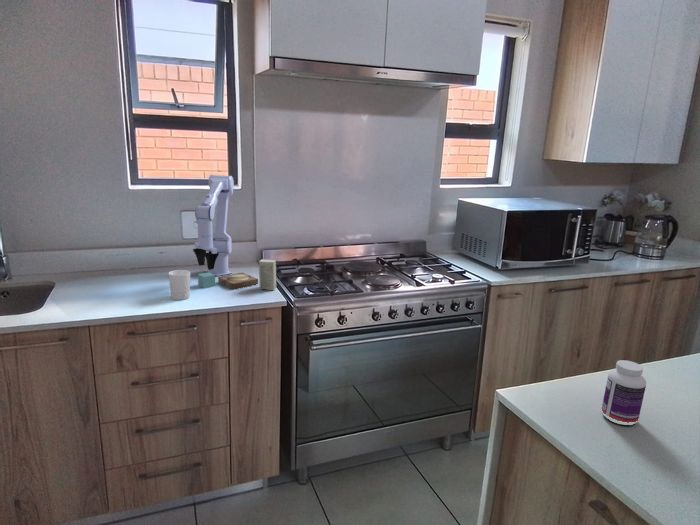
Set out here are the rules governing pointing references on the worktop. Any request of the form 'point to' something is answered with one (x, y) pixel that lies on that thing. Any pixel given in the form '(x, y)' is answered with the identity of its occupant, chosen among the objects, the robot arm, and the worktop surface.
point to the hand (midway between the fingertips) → (206, 267)
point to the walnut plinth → (237, 280)
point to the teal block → (206, 280)
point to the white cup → (179, 284)
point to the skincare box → (267, 274)
